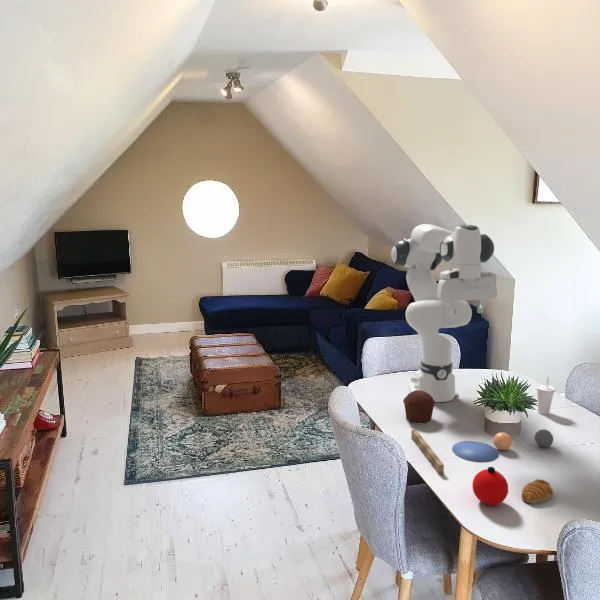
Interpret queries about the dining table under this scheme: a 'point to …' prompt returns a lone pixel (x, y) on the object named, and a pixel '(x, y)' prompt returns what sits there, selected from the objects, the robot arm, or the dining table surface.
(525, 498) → the pastry
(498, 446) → the object ball
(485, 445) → the blue flat disc
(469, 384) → the dining table surface
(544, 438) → the grey matte sphere
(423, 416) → the muffin
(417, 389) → the robot arm
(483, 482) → the ornament
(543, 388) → the smoothie
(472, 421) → the dining table surface
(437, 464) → the wall
